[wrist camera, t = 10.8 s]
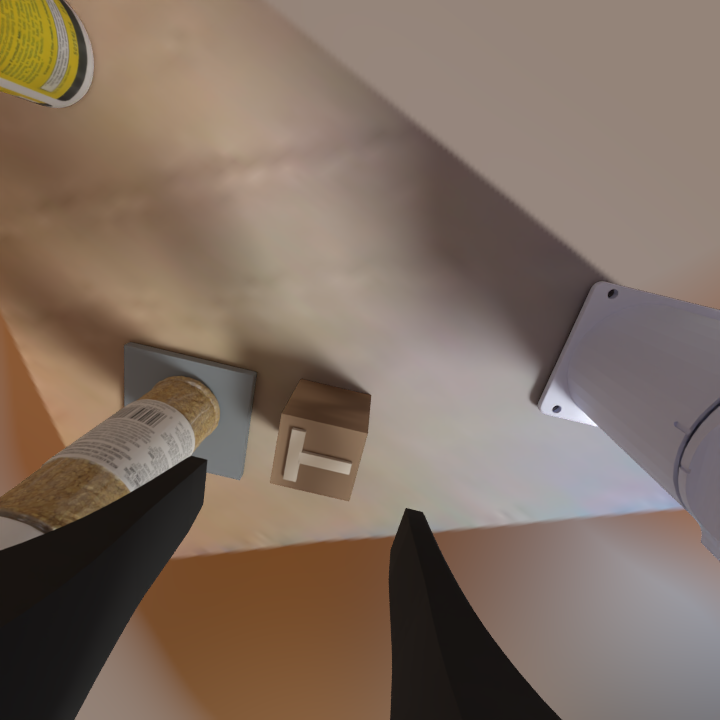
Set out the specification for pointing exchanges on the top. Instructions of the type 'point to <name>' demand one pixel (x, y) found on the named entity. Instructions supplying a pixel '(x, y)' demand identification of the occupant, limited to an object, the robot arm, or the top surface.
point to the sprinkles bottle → (111, 459)
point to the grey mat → (222, 380)
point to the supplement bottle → (44, 52)
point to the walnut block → (321, 439)
